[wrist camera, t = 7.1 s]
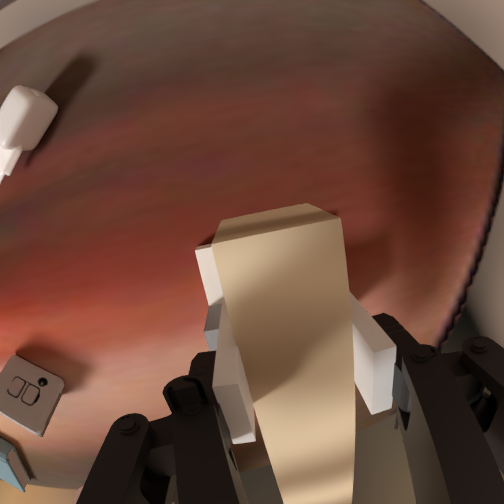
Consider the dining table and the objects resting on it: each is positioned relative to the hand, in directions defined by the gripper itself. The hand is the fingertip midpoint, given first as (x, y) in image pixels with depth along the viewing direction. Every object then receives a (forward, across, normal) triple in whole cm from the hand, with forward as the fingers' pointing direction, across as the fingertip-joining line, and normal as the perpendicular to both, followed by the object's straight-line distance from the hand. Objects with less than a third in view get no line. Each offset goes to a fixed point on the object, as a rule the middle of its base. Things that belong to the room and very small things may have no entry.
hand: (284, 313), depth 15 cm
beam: (+1, 0, -7) cm, 7 cm away
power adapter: (+15, -23, +16) cm, 32 cm away
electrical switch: (+15, -34, -13) cm, 39 cm away
